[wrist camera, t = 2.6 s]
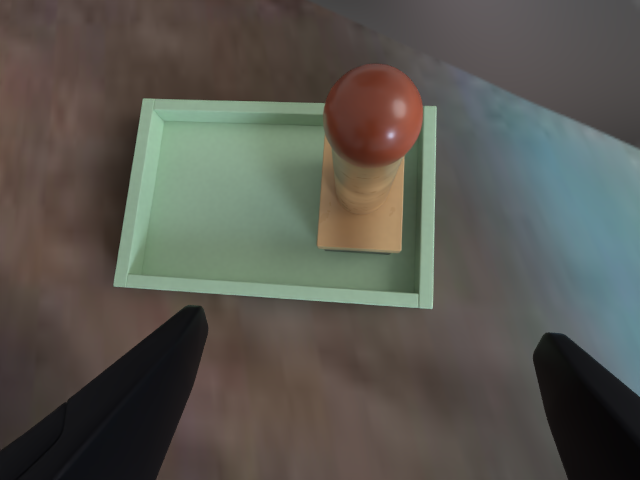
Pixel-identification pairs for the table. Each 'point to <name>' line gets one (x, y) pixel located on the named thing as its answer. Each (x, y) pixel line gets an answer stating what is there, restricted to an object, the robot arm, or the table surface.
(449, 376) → the table surface
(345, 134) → the wooden rubber stamp
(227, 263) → the tray
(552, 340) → the robot arm
